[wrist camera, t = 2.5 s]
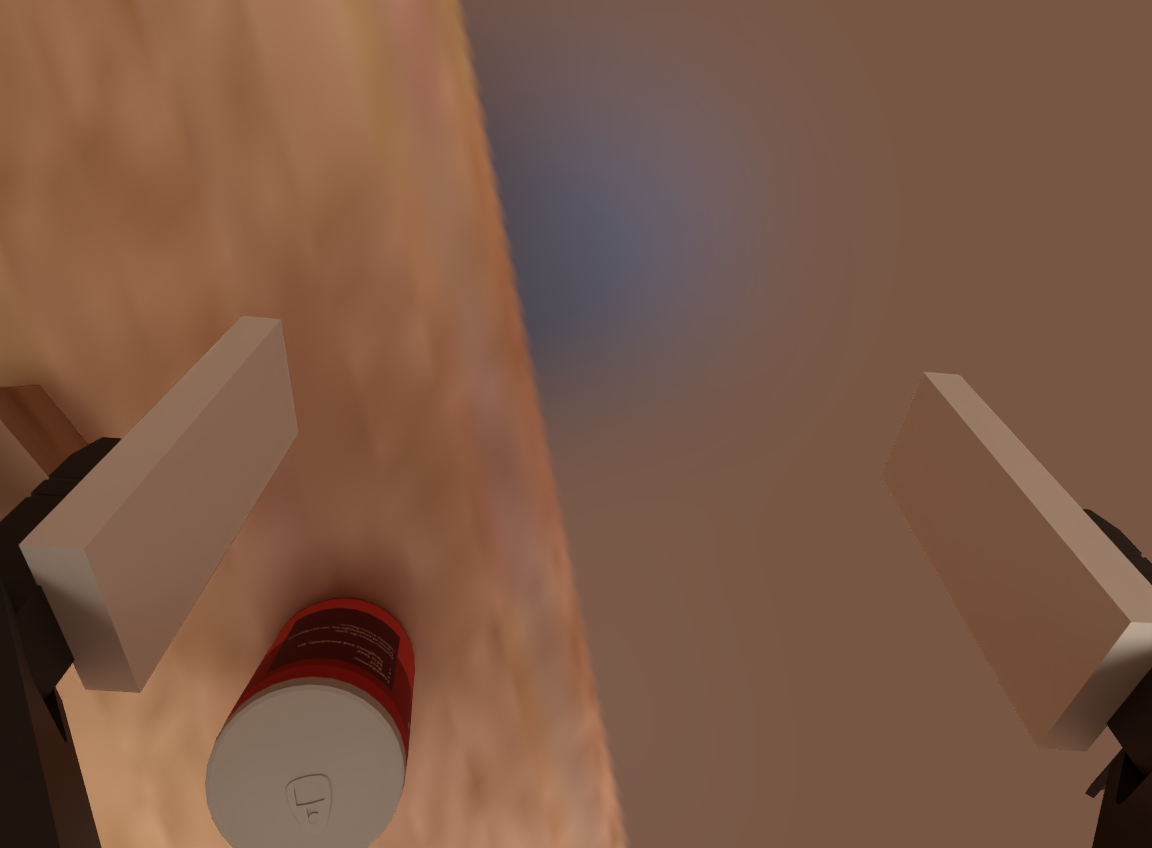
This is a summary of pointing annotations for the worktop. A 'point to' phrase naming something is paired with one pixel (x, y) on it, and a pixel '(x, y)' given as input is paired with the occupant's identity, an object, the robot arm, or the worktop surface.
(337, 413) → the worktop surface
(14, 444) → the walnut block
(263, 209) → the worktop surface
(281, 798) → the canned food
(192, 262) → the worktop surface
